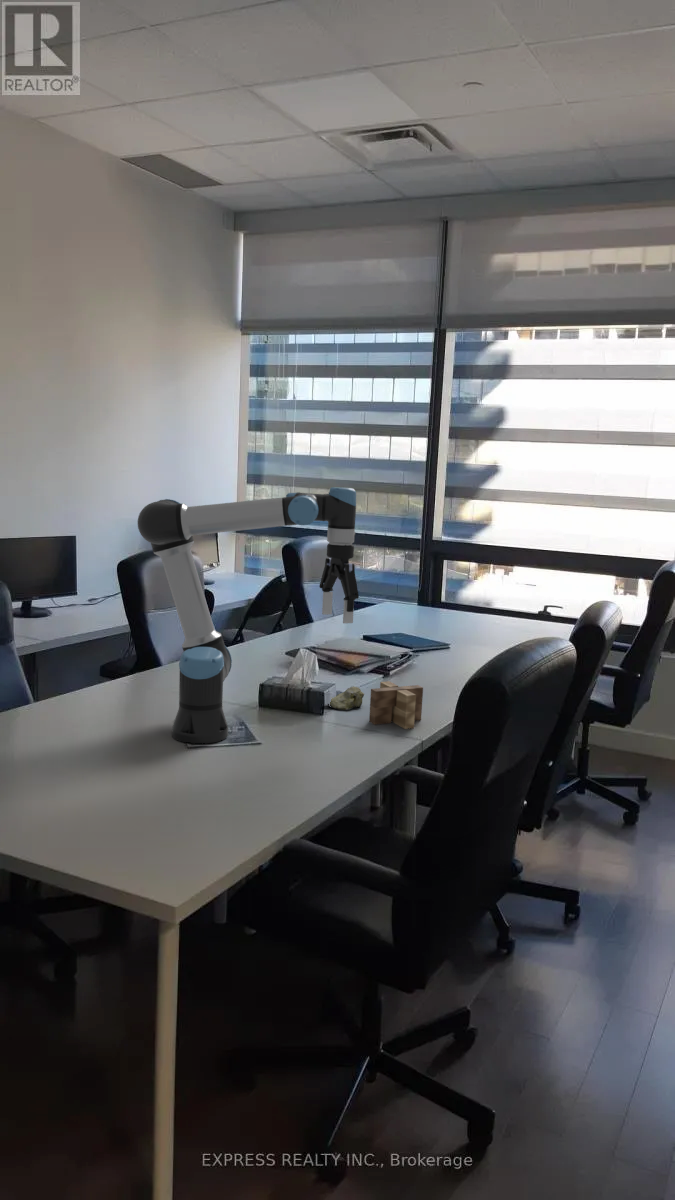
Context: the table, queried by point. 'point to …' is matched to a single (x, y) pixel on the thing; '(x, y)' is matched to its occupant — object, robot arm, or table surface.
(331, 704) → the rock
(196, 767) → the table surface
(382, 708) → the walnut plate
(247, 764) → the table surface
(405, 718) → the oak board
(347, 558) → the robot arm
